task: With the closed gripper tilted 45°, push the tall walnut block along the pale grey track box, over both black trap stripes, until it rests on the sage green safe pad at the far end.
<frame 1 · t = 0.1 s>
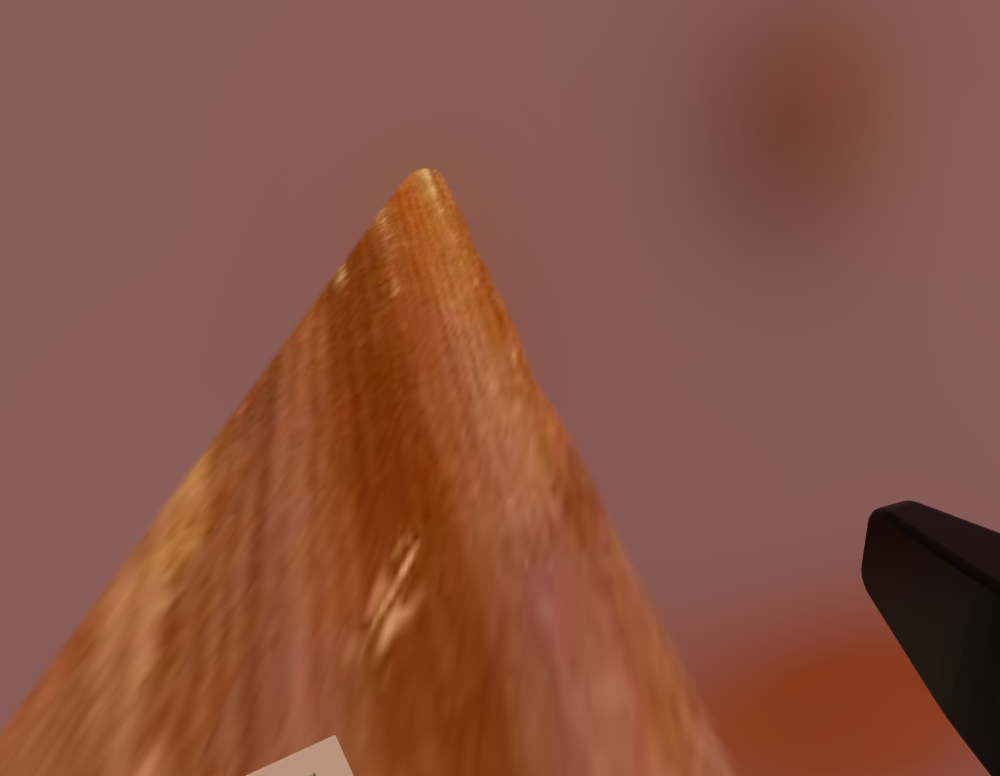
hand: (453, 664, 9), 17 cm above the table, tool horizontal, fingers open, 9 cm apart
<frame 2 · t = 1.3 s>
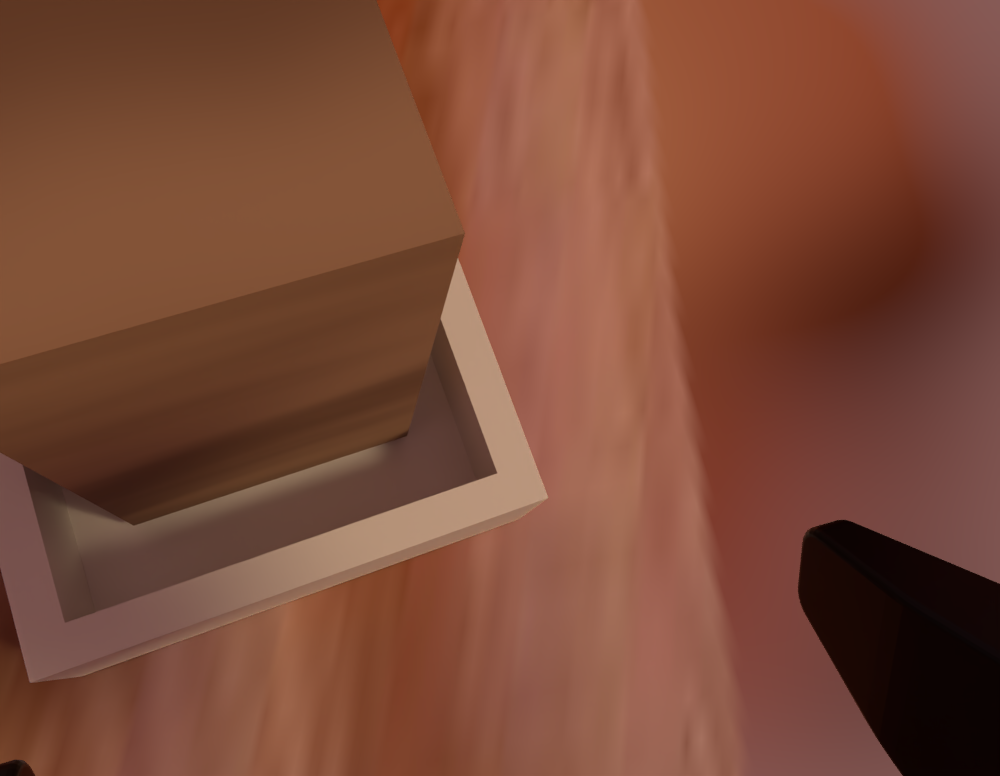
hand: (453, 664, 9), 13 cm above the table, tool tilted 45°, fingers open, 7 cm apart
walnut block: (205, 283, 16), point 7 cm above the table, slide at 0.0 cm
track box: (180, 181, 23), on the table
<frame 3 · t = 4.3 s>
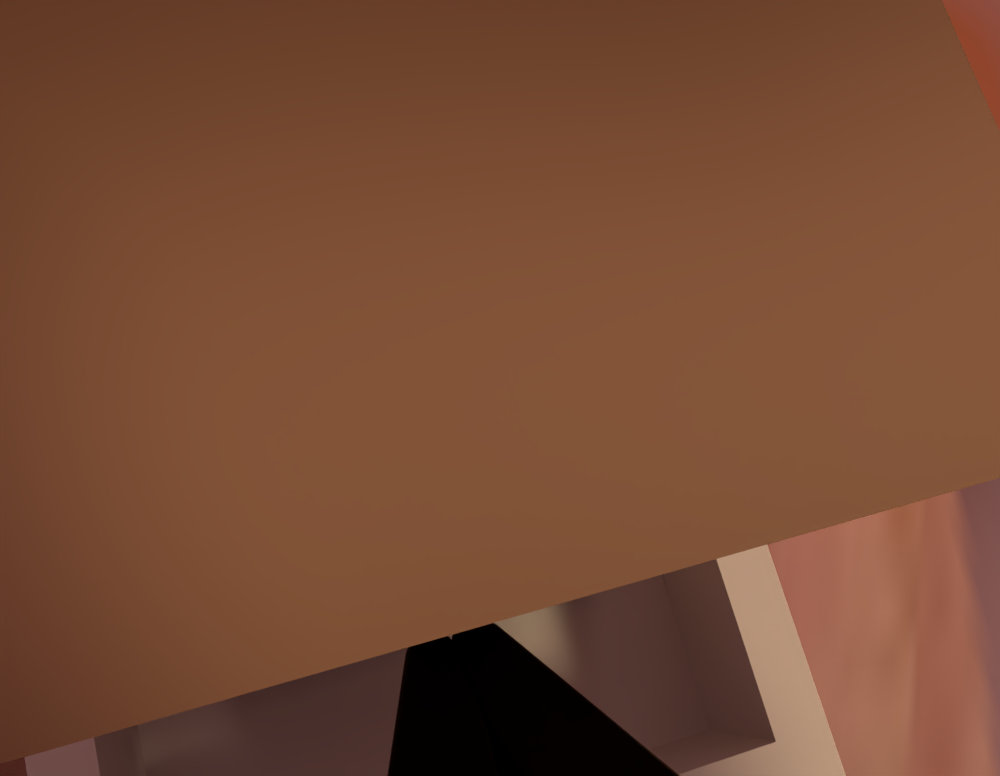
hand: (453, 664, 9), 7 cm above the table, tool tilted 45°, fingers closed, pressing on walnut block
walnut block: (391, 395, 10), point 7 cm above the table, slide at 0.8 cm, touching gripper
track box: (314, 255, 17), on the table
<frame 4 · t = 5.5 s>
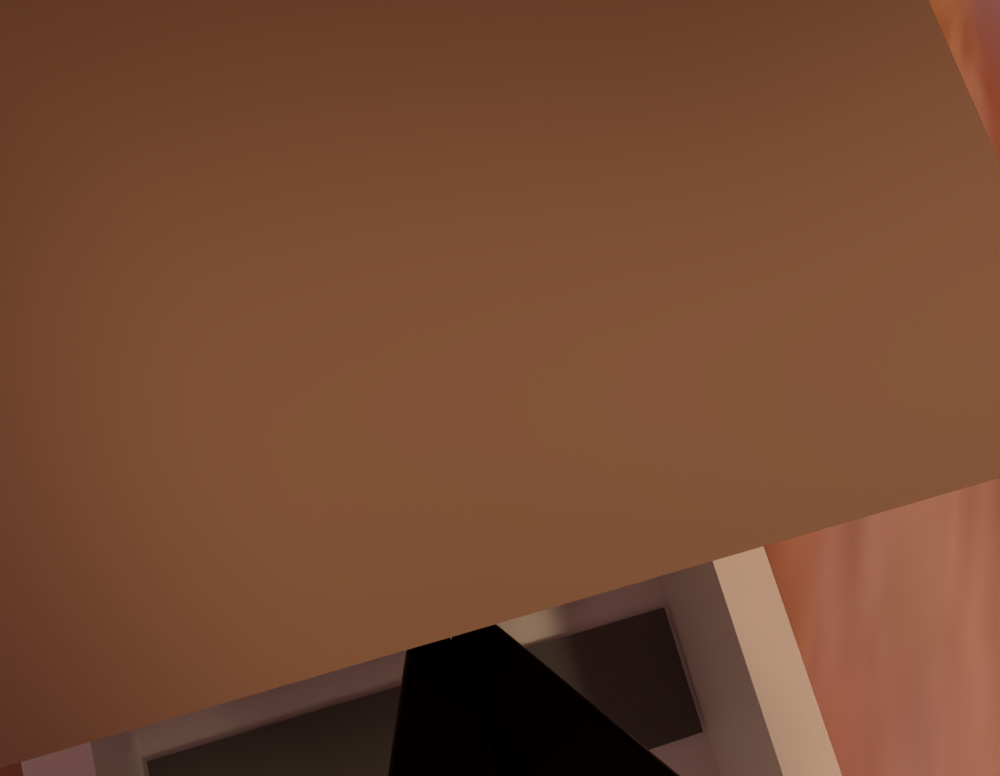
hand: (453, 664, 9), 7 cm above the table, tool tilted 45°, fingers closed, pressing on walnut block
walnut block: (385, 397, 10), point 7 cm above the table, slide at 7.8 cm, touching gripper
track box: (404, 630, 16), on the table
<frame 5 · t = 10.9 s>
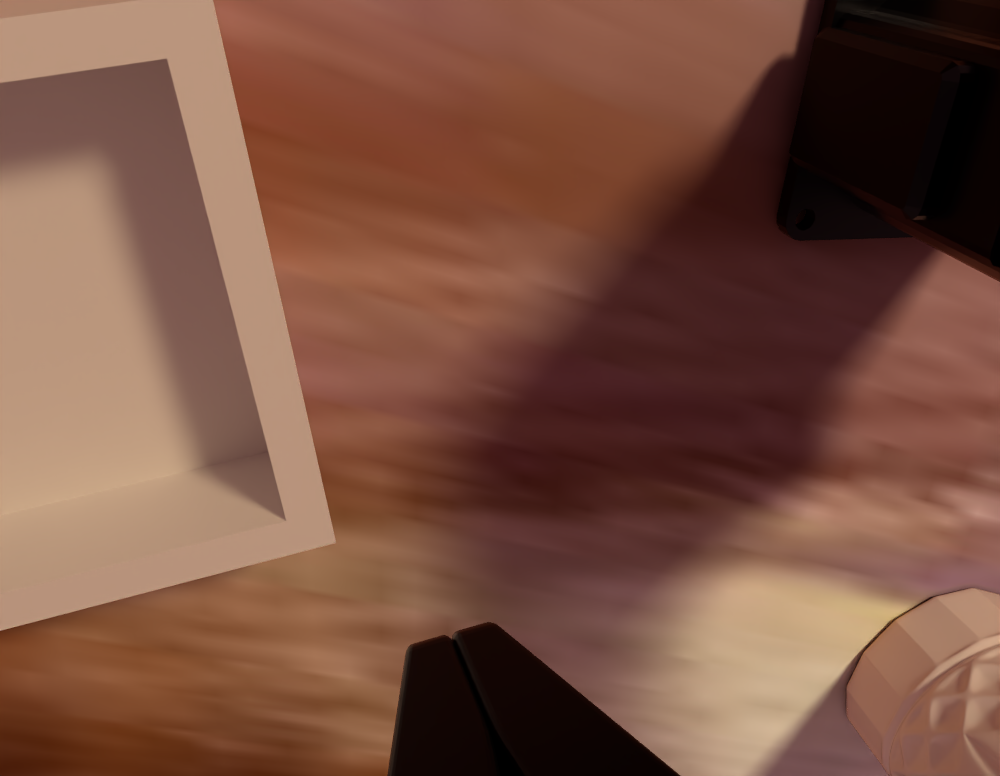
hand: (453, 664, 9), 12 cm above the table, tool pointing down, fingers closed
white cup: (924, 658, 33), on the table
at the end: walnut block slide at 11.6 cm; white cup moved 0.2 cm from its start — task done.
